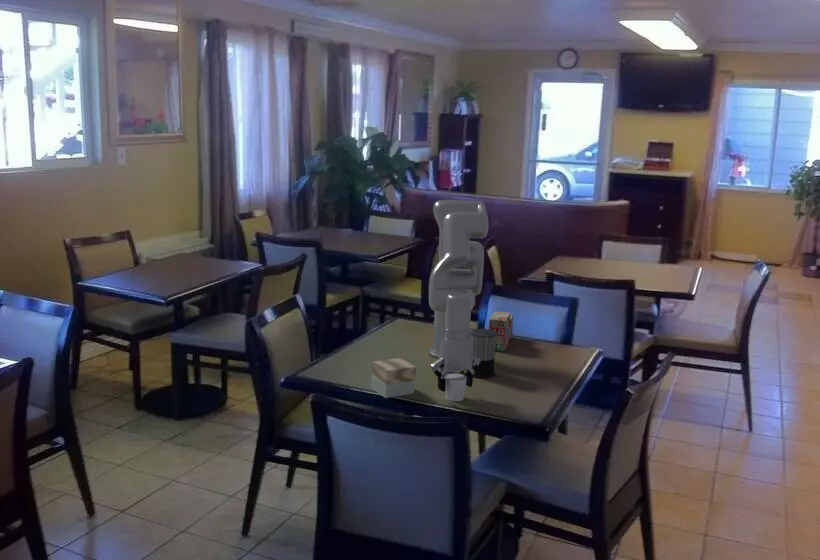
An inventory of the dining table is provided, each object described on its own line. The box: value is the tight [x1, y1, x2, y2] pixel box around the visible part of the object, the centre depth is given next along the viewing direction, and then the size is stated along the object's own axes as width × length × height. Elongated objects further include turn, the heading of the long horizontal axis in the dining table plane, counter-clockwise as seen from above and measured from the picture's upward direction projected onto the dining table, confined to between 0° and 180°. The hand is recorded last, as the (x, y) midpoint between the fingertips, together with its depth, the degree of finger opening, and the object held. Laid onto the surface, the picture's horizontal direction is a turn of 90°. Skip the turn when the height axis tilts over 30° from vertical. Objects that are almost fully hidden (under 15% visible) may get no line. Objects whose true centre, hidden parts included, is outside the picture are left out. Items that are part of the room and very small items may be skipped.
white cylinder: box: [444, 372, 467, 402], centre depth 243 cm, size 7×7×7 cm
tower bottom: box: [370, 374, 416, 399], centre depth 248 cm, size 10×10×4 cm
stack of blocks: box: [488, 311, 514, 352], centre depth 303 cm, size 21×6×12 cm, turn 165°
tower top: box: [371, 357, 417, 385], centre depth 247 cm, size 10×10×4 cm
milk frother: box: [447, 328, 497, 379], centre depth 265 cm, size 14×16×15 cm
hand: (455, 388), depth 243 cm, fingers open, 9 cm apart
